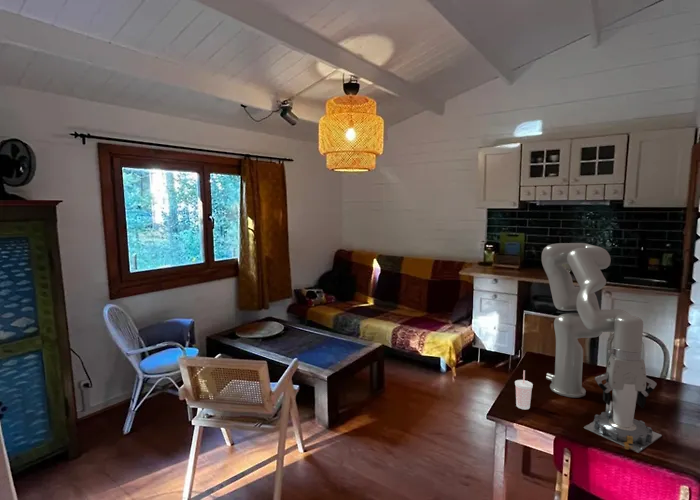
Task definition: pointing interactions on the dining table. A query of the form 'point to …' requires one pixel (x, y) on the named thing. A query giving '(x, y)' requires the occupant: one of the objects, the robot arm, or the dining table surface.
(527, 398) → the beverage cup
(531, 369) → the dining table surface
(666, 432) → the dining table surface
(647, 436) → the sprocket
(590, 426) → the base plate
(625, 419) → the drinking glass
